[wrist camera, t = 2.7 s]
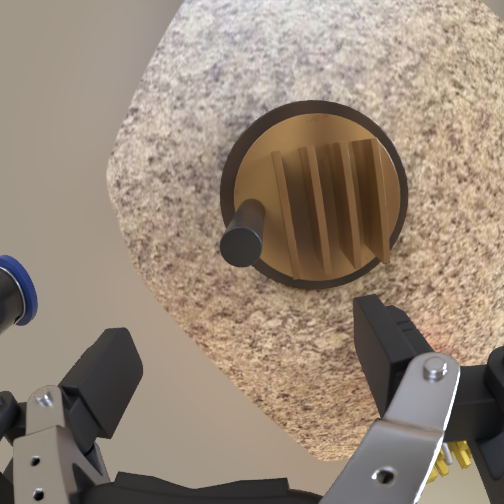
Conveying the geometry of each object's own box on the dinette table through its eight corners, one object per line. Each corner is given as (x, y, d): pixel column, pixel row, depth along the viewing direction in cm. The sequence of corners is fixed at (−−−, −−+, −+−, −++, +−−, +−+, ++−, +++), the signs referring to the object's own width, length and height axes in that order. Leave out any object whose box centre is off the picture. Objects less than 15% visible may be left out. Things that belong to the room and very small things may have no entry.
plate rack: (384, 107, 25) (452, 85, 14) (401, 262, 30) (460, 320, 18) (220, 130, 27) (185, 112, 15) (252, 288, 32) (242, 364, 20)
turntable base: (210, 267, 33) (208, 273, 32) (238, 88, 27) (236, 84, 26) (377, 294, 33) (381, 300, 32) (416, 129, 27) (422, 128, 26)
